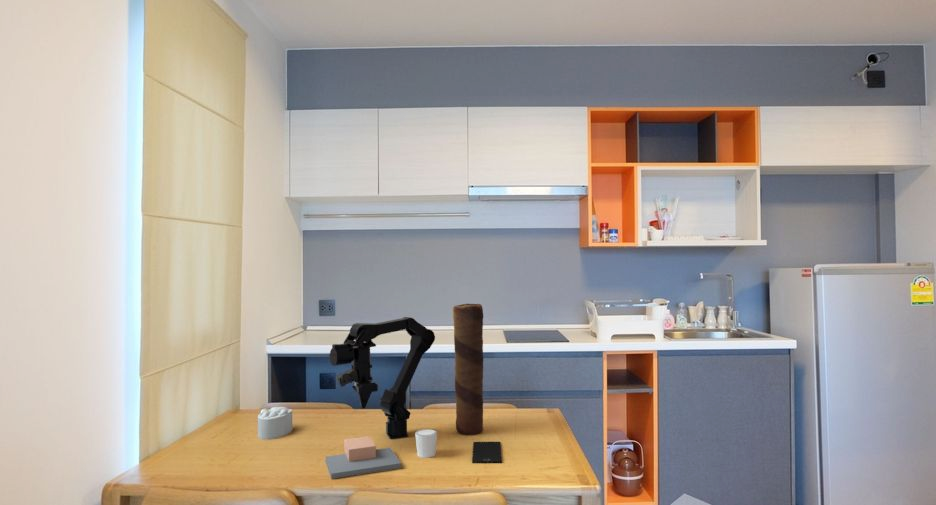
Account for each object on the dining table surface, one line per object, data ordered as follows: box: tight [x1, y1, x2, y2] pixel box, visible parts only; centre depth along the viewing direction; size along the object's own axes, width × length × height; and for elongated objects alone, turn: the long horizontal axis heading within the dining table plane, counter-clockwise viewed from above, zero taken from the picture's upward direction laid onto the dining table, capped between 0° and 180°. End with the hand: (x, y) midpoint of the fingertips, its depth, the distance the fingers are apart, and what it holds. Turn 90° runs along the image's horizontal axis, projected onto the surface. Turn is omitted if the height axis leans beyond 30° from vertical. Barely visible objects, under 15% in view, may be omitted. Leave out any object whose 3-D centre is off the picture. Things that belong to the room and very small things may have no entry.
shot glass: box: [414, 428, 438, 459], centre depth 170 cm, size 7×7×7 cm
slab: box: [343, 435, 377, 461], centre depth 167 cm, size 8×4×10 cm
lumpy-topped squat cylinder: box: [257, 406, 293, 441], centre depth 194 cm, size 10×13×9 cm
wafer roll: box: [452, 303, 484, 436], centre depth 193 cm, size 10×11×45 cm
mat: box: [325, 447, 402, 480], centre depth 162 cm, size 20×14×2 cm
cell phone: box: [471, 441, 503, 464], centre depth 171 cm, size 9×18×1 cm, turn 178°
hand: (363, 408), depth 182 cm, fingers closed
